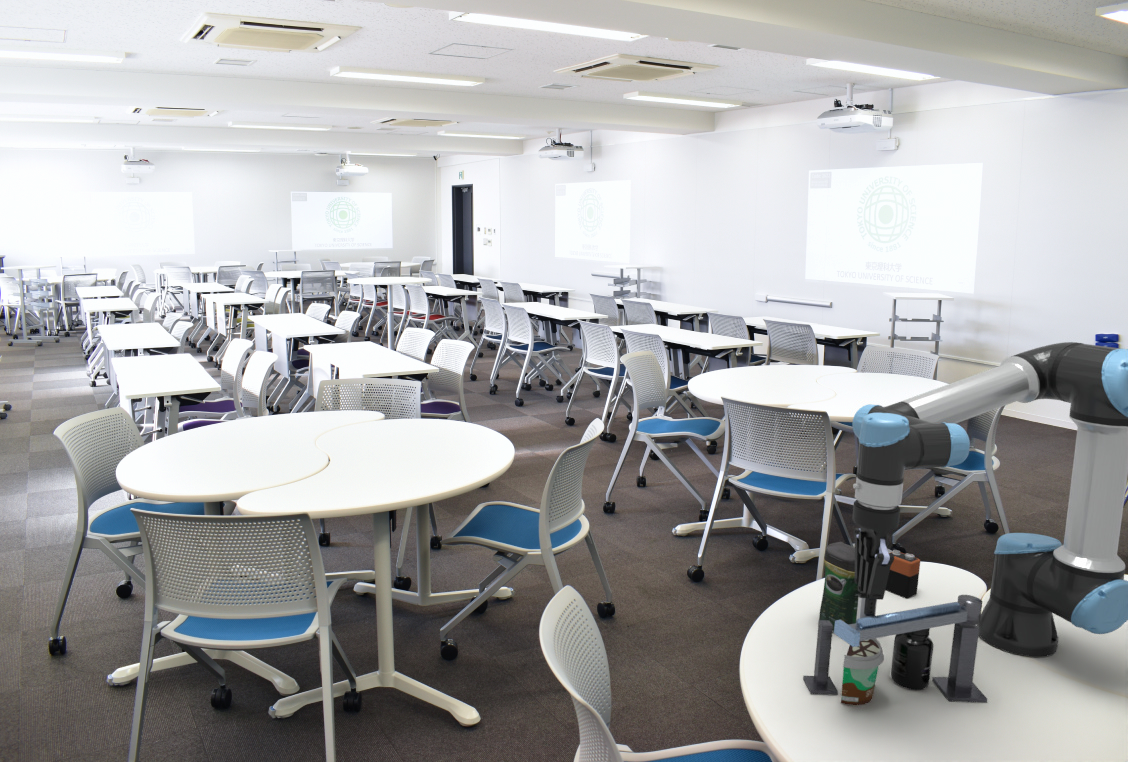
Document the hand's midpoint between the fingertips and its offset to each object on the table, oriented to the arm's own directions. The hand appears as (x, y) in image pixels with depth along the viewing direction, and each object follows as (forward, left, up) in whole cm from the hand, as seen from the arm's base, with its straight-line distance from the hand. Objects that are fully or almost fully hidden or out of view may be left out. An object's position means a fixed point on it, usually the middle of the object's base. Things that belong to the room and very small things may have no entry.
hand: (864, 628), depth 141 cm
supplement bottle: (-13, -8, -15) cm, 22 cm away
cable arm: (-9, -1, 0) cm, 9 cm away
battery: (-27, -48, -15) cm, 58 cm away
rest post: (+5, -5, -15) cm, 17 cm away
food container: (-2, -3, -15) cm, 16 cm away
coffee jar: (-7, -30, -15) cm, 34 cm away
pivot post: (-21, -5, -15) cm, 26 cm away
